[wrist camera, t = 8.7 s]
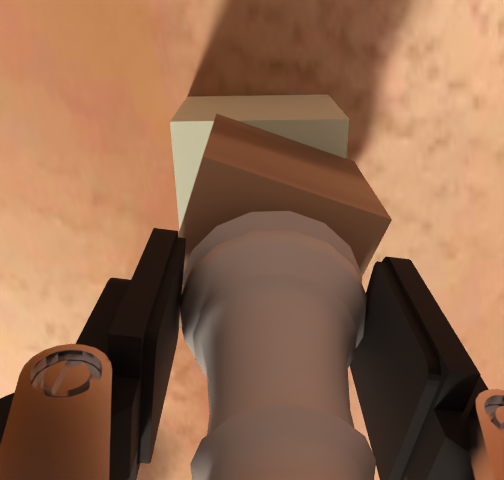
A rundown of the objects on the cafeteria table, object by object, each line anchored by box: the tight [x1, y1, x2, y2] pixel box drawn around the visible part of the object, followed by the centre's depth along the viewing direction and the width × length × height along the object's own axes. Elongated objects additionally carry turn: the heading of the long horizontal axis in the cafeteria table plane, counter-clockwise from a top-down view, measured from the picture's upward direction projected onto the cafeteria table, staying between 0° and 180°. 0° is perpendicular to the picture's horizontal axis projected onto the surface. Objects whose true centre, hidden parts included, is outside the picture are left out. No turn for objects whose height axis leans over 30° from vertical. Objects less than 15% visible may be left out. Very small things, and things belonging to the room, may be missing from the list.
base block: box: [170, 94, 349, 229], centre depth 20 cm, size 6×6×5 cm
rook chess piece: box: [179, 211, 376, 480], centre depth 9 cm, size 4×4×8 cm
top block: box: [178, 113, 392, 328], centre depth 15 cm, size 5×5×5 cm
